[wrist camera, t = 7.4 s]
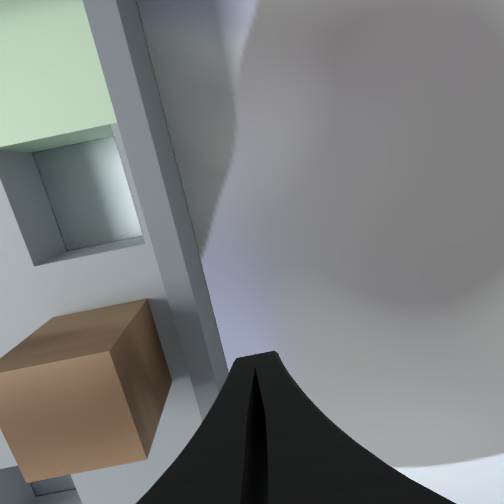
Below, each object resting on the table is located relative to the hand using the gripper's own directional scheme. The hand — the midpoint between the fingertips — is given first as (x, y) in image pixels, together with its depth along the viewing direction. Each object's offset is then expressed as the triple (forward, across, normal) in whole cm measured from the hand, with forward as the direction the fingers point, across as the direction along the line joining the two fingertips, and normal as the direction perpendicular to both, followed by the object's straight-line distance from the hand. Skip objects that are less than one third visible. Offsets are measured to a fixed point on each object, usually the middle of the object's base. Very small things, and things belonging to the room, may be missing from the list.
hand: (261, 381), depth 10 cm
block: (+4, +6, 0) cm, 7 cm away
